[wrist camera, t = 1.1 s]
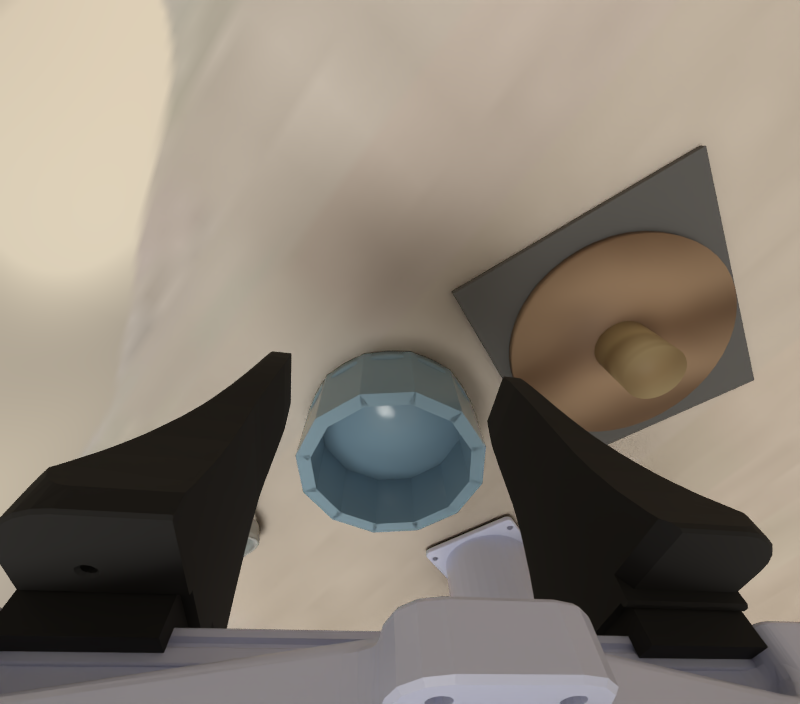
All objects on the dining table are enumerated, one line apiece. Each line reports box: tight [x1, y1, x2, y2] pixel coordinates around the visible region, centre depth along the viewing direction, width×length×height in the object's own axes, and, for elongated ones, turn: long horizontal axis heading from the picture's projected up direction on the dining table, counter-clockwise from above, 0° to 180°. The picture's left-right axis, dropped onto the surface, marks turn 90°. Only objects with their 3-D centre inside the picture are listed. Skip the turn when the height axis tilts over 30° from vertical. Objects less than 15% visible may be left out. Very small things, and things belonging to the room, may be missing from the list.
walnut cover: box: [509, 231, 737, 432], centre depth 22 cm, size 13×13×4 cm
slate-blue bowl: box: [296, 351, 486, 532], centre depth 24 cm, size 11×11×4 cm
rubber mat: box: [452, 146, 754, 445], centre depth 24 cm, size 16×14×1 cm
